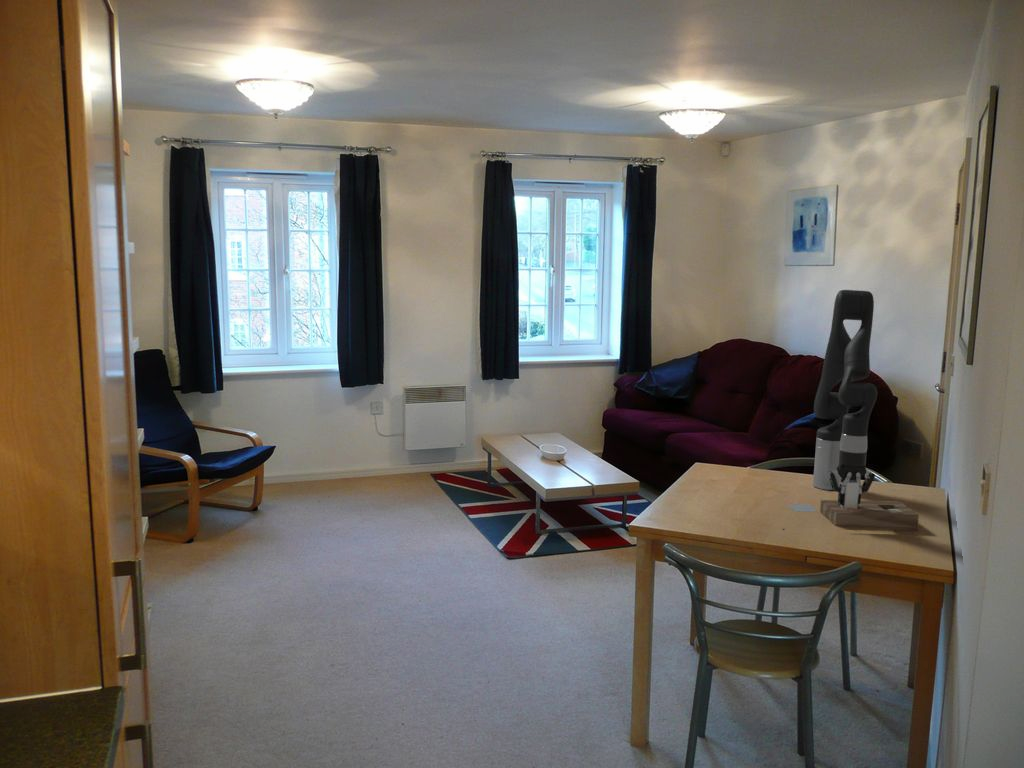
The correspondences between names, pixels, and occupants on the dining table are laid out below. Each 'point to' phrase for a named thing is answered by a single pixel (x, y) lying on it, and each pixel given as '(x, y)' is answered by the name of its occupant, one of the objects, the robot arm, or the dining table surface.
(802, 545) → the dining table surface
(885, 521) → the socket block
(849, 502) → the plug
